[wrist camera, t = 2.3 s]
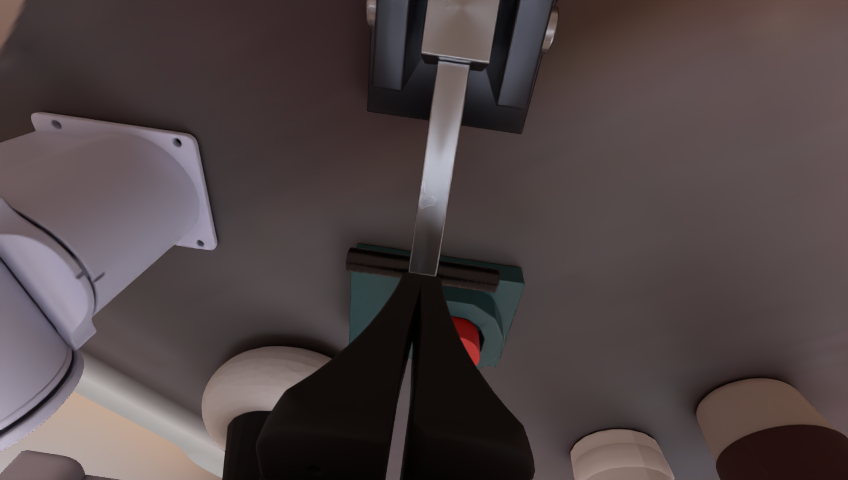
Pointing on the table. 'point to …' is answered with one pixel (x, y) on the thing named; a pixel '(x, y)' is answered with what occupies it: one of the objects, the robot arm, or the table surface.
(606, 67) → the table surface
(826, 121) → the table surface
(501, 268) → the button box
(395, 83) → the bracket
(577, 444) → the bottle
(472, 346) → the stop button
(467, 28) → the lever
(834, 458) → the coffee cup
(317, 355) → the decorative figurine
